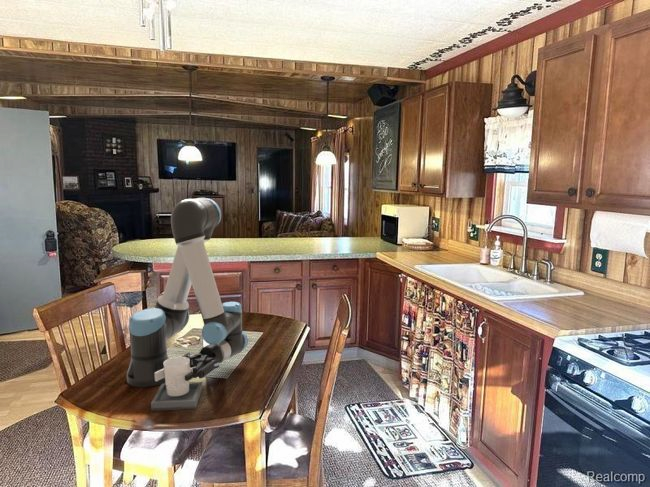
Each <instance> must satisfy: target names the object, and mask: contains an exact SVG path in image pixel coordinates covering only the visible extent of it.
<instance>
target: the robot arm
mask: <svg viewBox="0 0 650 487" xmlns="http://www.w3.org/2000/svg"><path fill="white" fill-rule="evenodd" d="M171 211H172V212H171V214H170V225H171V226H170V227H171V232H172V235H173V239H174V242H175V245H176V246H177V247H176V252H175V255H174V258H173V261H172V265H171V268H170V271H169V275H168V277H167V281H166V285H165V287H164V291H163V294H162V295H159V296H158V297H157V299H156V302H155V305H154V307H152V308H151V307H150V308H144V309H143V310H142V309H141V310H138V311H136V312H133V314H132V315H131V316H130V317H129V320H128V321H129V322H128V323H129V324H128V330H129V343H130V344H129V345H130V362H129V365H128V370H127V372H126V383H127V384H128V385H129V386H131V387H136V388H149V387H155V386H159V385H161V384H166V383H165V375H164V365H163V363H164V361H165V360H167V359H169V356H168V350H167V349H168V348H167V346H168V345H167V344H168V343H167V341H168V340H169V339H171V338H172V337H174V336H175V335H176V334H178V333H180V332H181V331H182V330H184V328H185V327H186V326H187V324H188V323H189V320H190V311H189V309H190V304H189V302H188V298H189V297H188V296H189V293H190V291H191V287H192V289H193V291H194V295H195V299H196V302H197V305H198V308H199V311H200V314H201V317H202V322H203V325H204V326H203V327H202V329H201V337H202V339H203V341H204V342H206V344H207V345H205V346H203V347H202V348H201V349H200V351H199V353H196V354H194V355H191V353H190V352H187V353H185V354H184V355H182V356H180V357H187V358H189V359H190V370H188V371H187V372H185V373H183V374H181V375H179V376H177V377H175V386H176V387H178V386H179V385H181V384H183V383H185V382H186V381H189V380H190V381H191V380H192V379H197V378H198V379H204V377H206V376H207V375H208V374H210V373H211V372H213V371H214V370H216V369H218V368H220V364H222V363H223V362H225V361H226V360H229V359H230V358H232V357H233V356H236V355H237V354H240V353H242V352H243V351H244V350H245V349H247V347H248V345H249V338H248V335H247V334H246V333H245V332H244V331H243V311H242V304H241V303H240V302H238V301H225V302H222V300H221V296H220V293H219V289H218V285H217V283H216V282H217V281H216V279H215V276H214V273H213V269H212V266H211V262H210V259H209V256H208V252H207V250H206V246H205V244H206V242H208V241H211V237H212V235H213V232H214V229H215V228H216V227H217V226H219V223H220V222H221V221H222V220H221V219H222V210H221V208H220V206H219V204H218V203H217V202H216V201H214V200H213V199H211V198H208V197H207V198H206V197H197V198H185V199H183V200H180V201H179V202H177V203H176V205H175V206H174V207H173V209H172V210H171Z"/></svg>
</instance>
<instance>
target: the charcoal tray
mask: <svg viewBox="0 0 650 487" xmlns="http://www.w3.org/2000/svg"><path fill="white" fill-rule="evenodd" d="M203 389H204V388H203V382H202V381H195V382H194V381H193V382H191V381H190V382H189V392H188V393H186V394H184V395H181V396H169V395H168V394H167V390H166V383H162V384H160V386H159V388H158V389H157V392H156V394H155V395H154V397H153V399H152V401H151V402H150V411H151V412H154V411H155V412H156V411H157V412H159V411H175V410H176V411H177V410H178V411H179V410H195V409H197V406H198V404H199V400H200V399H201V395H202V392H203Z"/></svg>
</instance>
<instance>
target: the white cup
mask: <svg viewBox="0 0 650 487" xmlns="http://www.w3.org/2000/svg"><path fill="white" fill-rule="evenodd" d="M168 358H169V357H168ZM163 365H164V375H165V383H164V384H166V390H167V394H168V395H169V396H181V395H184V394H186V393H188V392H189V383H190V382H191V380H189V381H186V382H185V383H183V384H181V385H179V386H178V387H176V386H175V377H177V376H179V375H181V374H183V373H185V372H187V371H188V370H191V368H190V359H189V358H187V357H181V356H173V357H170V358H169V359H167V360H165V361H164V363H163Z"/></svg>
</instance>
